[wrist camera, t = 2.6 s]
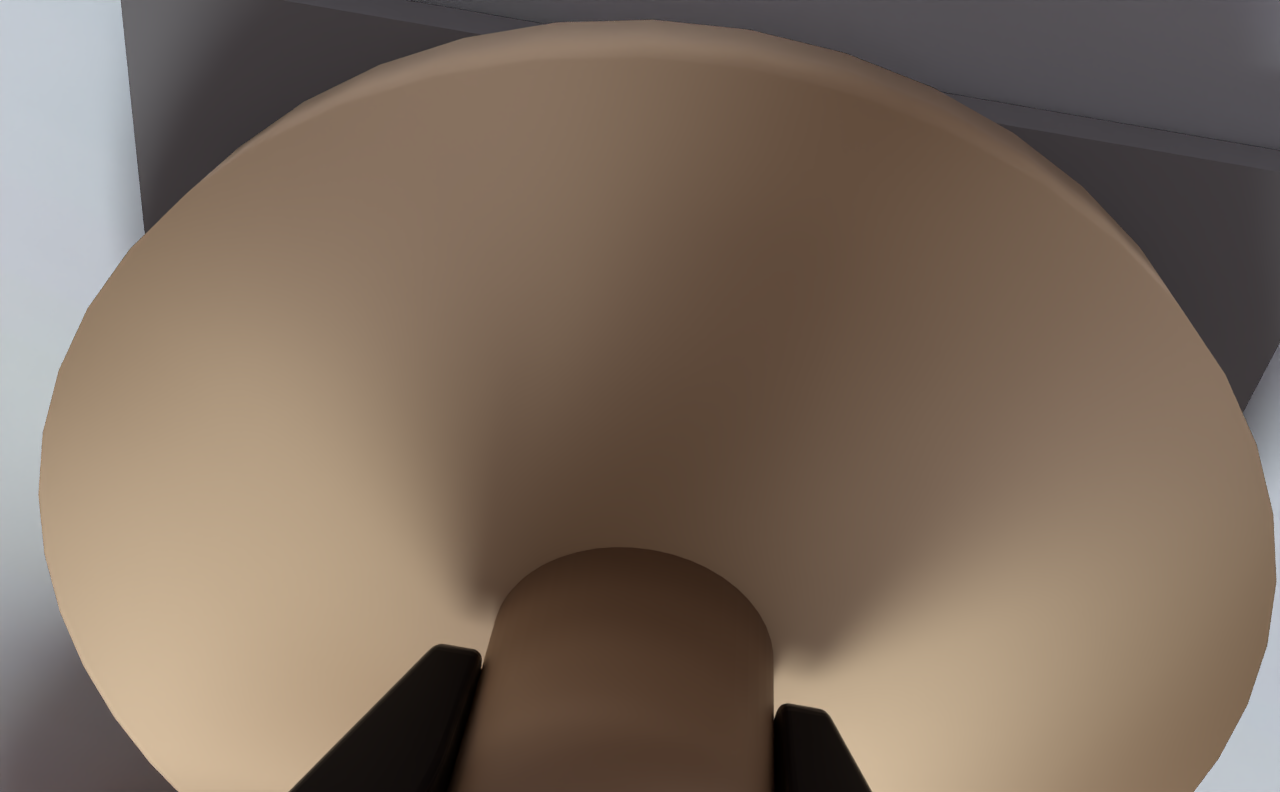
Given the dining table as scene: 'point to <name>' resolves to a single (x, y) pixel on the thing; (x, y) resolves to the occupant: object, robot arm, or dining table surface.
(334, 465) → the lid
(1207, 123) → the dining table surface
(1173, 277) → the mat
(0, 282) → the dining table surface
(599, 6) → the dining table surface
